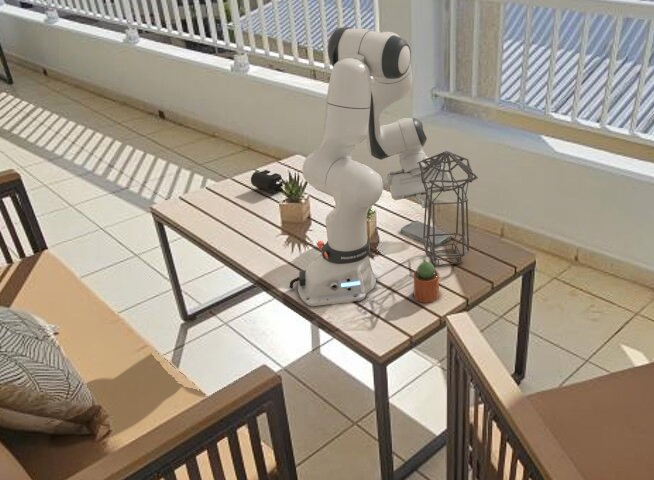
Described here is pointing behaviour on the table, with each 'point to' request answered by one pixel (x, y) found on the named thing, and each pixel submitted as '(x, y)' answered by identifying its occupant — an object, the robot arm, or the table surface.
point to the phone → (417, 231)
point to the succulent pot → (426, 283)
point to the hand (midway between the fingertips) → (427, 207)
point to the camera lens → (267, 181)
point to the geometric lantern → (469, 179)
